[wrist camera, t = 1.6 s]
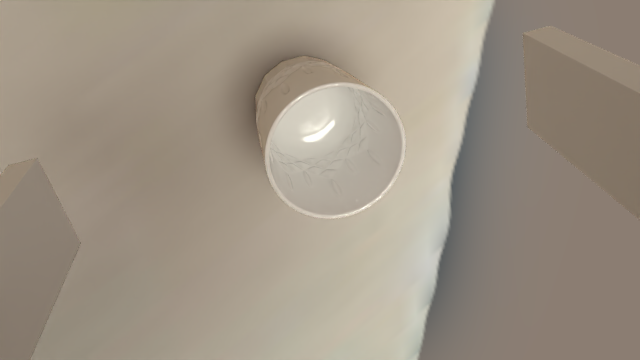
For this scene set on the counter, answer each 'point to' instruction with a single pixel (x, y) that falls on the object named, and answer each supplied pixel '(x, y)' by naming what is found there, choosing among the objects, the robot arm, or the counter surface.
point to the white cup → (327, 138)
